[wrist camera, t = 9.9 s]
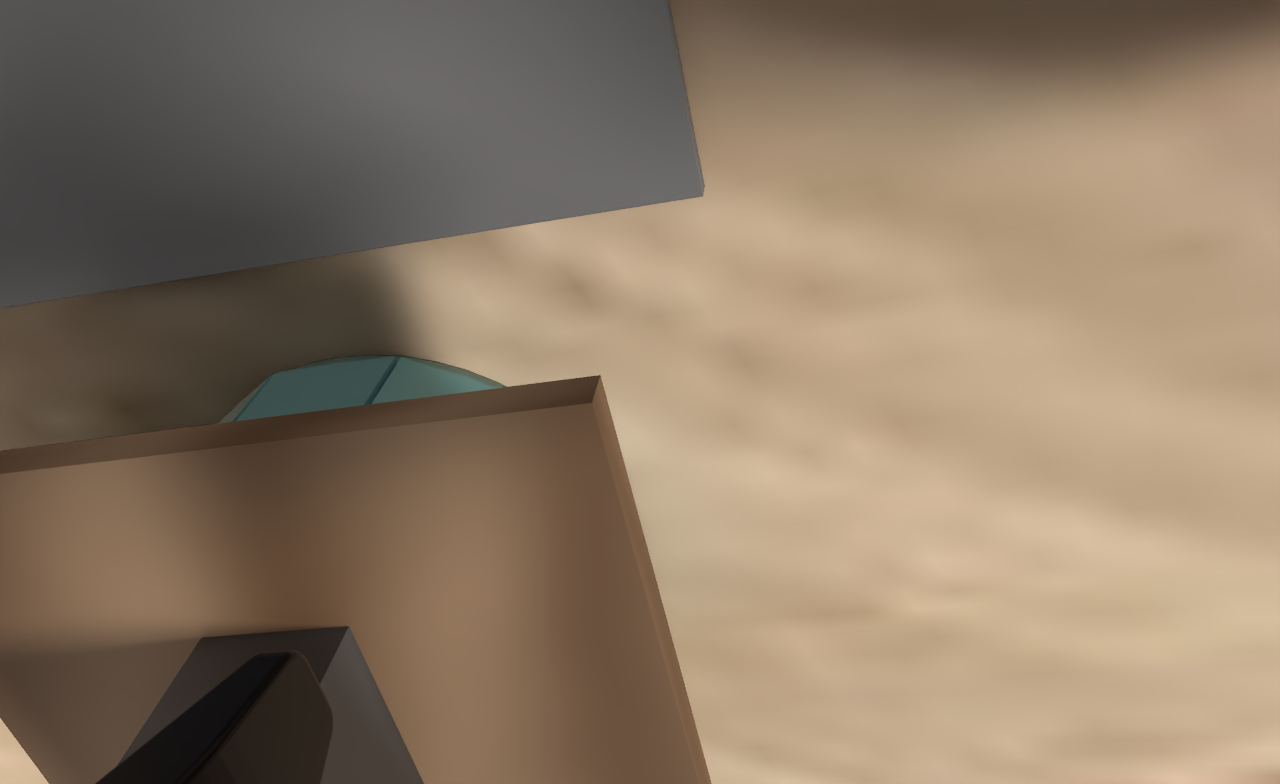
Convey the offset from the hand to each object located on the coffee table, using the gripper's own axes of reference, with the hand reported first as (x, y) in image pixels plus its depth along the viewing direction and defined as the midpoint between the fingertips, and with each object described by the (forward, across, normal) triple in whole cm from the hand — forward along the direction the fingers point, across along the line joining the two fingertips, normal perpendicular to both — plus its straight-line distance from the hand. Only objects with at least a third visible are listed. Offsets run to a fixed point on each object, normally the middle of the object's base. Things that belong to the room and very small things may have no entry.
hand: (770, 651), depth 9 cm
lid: (+7, +10, +8) cm, 14 cm away
